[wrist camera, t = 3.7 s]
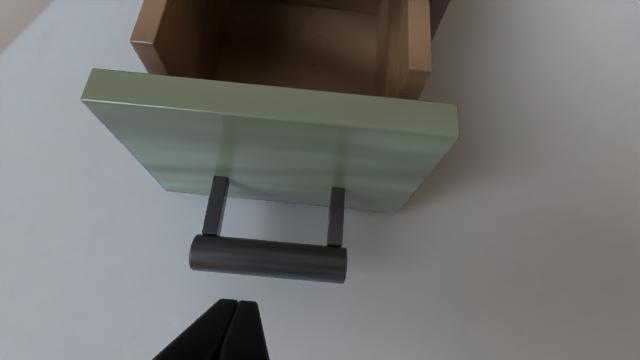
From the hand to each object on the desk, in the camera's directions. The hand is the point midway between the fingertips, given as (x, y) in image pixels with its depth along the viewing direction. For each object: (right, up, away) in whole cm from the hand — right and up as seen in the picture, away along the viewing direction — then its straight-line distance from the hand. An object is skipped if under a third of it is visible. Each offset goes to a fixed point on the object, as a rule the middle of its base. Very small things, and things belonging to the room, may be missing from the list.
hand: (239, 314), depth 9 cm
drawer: (0, +6, +11) cm, 13 cm away
